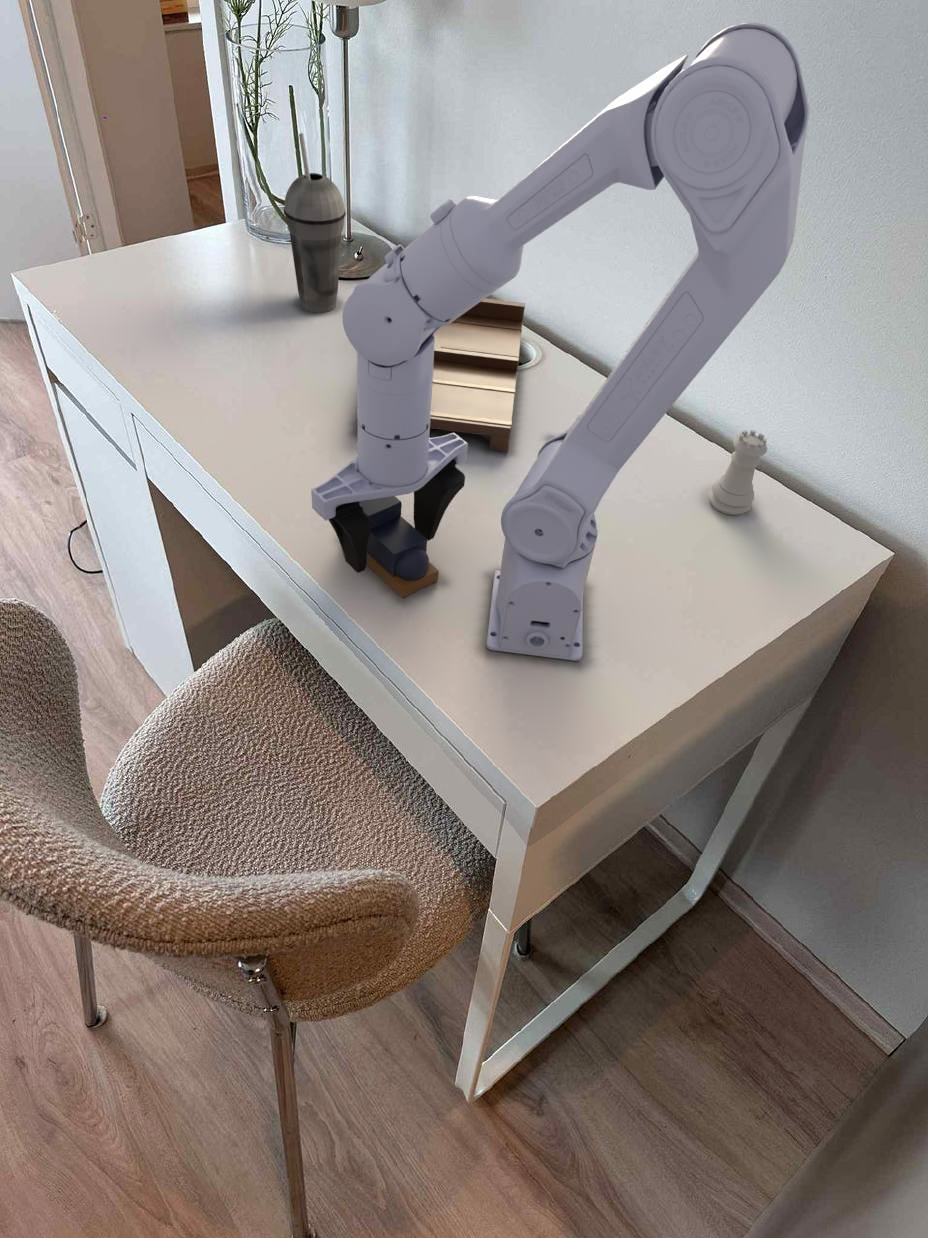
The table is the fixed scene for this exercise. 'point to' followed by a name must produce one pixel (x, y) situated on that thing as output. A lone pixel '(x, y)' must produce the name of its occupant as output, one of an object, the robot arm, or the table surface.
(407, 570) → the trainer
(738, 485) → the rook chess piece
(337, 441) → the table surface
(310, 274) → the beverage cup
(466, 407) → the shoe shelf
